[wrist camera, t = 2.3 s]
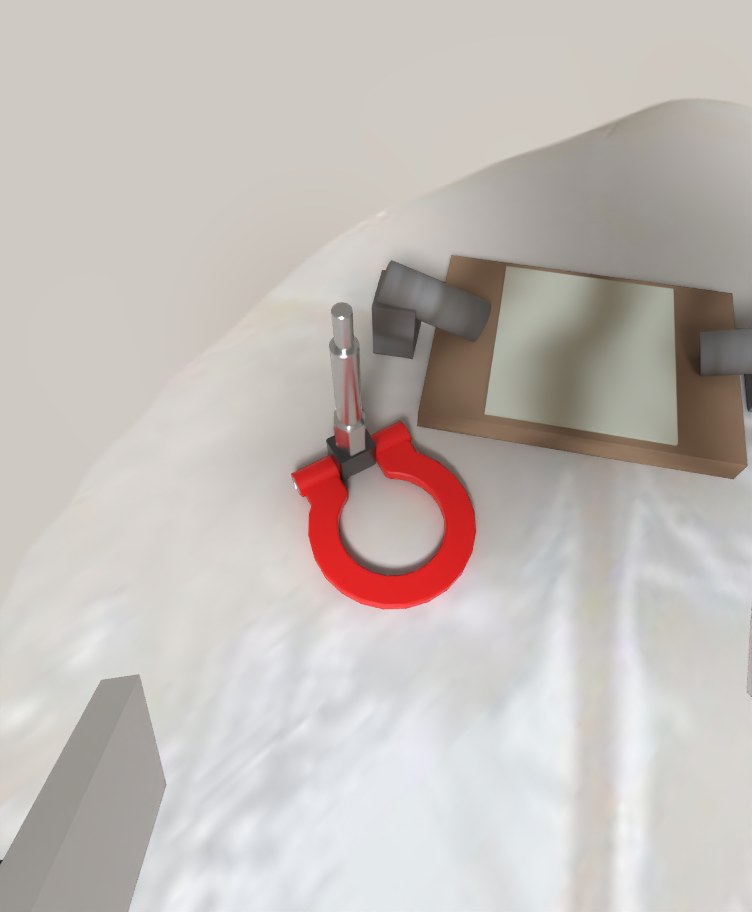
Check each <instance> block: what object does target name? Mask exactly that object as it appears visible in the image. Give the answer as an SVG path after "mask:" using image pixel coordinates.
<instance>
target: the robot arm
mask: <svg viewBox="0 0 752 912" xmlns="http://www.w3.org/2000/svg"><path fill="white" fill-rule="evenodd" d="M747 693H748V694H749V695H750V696H751V697H752V608H751V625H750V642H749V659H748V676H747ZM165 787H166V781H165V777H164V773H163V769H162V765H161V760H160V756H159V752H158V748H157V744H156V740H155V736H154V732H153V728H152V724H151V720H150V716H149V712H148V708H147V703H146V699H145V695H144V691H143V687H142V683H141V679H140V675H132V676H125V677H119V678H112V679H105V680H101V681H100V683H99V685H98V687H97V689H96V691H95V692H94V694H93V696H92V698H91V700H90V702H89V703H88V705H87V707H86V709H85V711H84V713H83V714H82V716H81V718H80V720H79V722H78V724H77V725H76V727H75V729H74V731H73V733H72V735H71V736H70V738H69V740H68V742H67V744H66V746H65V747H64V749H63V751H62V753H61V755H60V757H59V758H58V760H57V762H56V764H55V766H54V767H53V769H52V771H51V773H50V775H49V777H48V778H47V780H46V782H45V784H44V786H43V788H42V789H41V791H40V793H39V795H38V797H37V799H36V800H35V802H34V804H33V806H32V808H31V810H30V811H29V813H28V815H27V817H26V819H25V821H24V822H23V824H22V826H21V828H20V830H19V832H18V833H17V835H16V837H15V839H14V841H13V843H12V844H11V846H10V848H9V850H8V852H7V853H6V855H5V857H4V859H3V860H0V912H128V910H129V907H130V903H131V900H132V897H133V894H134V890H135V887H136V884H137V880H138V877H139V874H140V870H141V867H142V864H143V860H144V857H145V854H146V850H147V847H148V844H149V840H150V837H151V834H152V830H153V827H154V824H155V821H156V817H157V814H158V811H159V807H160V804H161V801H162V797H163V794H164V791H165Z"/></svg>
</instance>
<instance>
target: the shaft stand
mask: <svg viewBox="0 0 752 912" xmlns="http://www.w3.org/2000/svg"><path fill="white" fill-rule="evenodd" d="M421 321H422V322H425V323H427V324H430V325H432V326H435V327H436V330H435V335H434V340H433V345H432V349H431V354H430V359H429V364H428V368H427V373H426V378H425V383H424V387H423V392H422V397H421V402H420V406H419V411H418V424H417V426H421V427H427V428H433V429H438V430H444V431H450V432H456V433H462V434H468V435H474V436H480V437H486V438H492V439H498V440H504V441H510V442H516V443H522V444H528V445H534V446H540V447H546V448H551V449H557V450H563V451H569V452H575V453H581V454H587V455H593V456H599V457H605V458H611V459H617V460H623V461H629V462H635V463H641V464H647V465H653V466H658V467H664V468H670V469H676V470H682V471H688V472H694V473H700V474H706V475H712V476H718V477H724V478H730V479H734V478H735V477H736V476H737V475H738V474H739V473H740V472H741V471H742V470H744V469H745V468H746V467H747V466H748V465H747V453H746V442H745V431H744V420H743V409H742V398H741V387H740V376H739V374H745V382H746V392H747V403H748V411H750V412H752V328H746V329H735V320H734V309H733V298H732V293H725V292H718V291H711V290H703V289H696V288H689V287H681V286H674V285H666V284H659V283H652V282H644V281H637V280H630V279H622V278H615V277H608V276H600V275H593V274H585V273H578V272H571V271H563V270H556V269H549V268H541V267H534V266H527V265H519V264H512V263H504V262H497V261H490V260H482V259H475V258H468V257H460V256H453V255H451V259H450V264H449V269H448V273H447V278H446V283H444V282H442V281H439V280H437V279H435V278H432V277H430V276H428V275H425V274H423V273H420V272H418V271H416V270H413V269H411V268H409V267H406V266H404V265H401V264H399V263H397V262H394V261H392V260H391V261H390V263H389V265H388V267H387V269H386V270H382V272H381V276H380V279H379V283H378V287H377V290H376V294H375V297H374V301H373V304H372V326H373V353H378V354H384V355H391V356H397V357H403V358H410V359H413V355H414V350H415V346H416V342H417V337H418V333H419V328H420V324H421Z"/></svg>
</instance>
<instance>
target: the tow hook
mask: <svg viewBox="0 0 752 912" xmlns="http://www.w3.org/2000/svg"><path fill="white" fill-rule="evenodd" d="M331 314H332V324H333V335H334V337H333V338H332V340H331V341H330V344H329V348H330V357H331V366H332V376H333V385H334V394H335V404H336V410H335V413H334V431H335V435H334V436H332V437H330V438H328V439H327V440H326V442H327V448H328V455H329V456H327V457H325V458H323V459H321V460H319V461H317V462H314V463H312V464H310V465H308V466H306V467H304V468H302V469H300V470H298V471H296V472H294V473H292V474H291V475H292V480H293V483H294V485H295V487H296V489H297V491H298V492H299V493H300V495H301V496H302V497H304V496H306V497H307V499H308V501H309V503H310V505H311V509H310V513H309V532H308V536H309V539H310V543H311V547H312V551H313V555H314V558H315V561H316V562H317V564H318V566H319V567H320V569H321V571H322V572H323V574H324V576H325V578H326V579H327V580H328V581H329V582H330V583H332V584H333V585H334V586H335V587H336V588H337V589H338V590H339V591H340V592H341V593H342V594H344V595H346V596H348V597H350V598H351V599H353V600H355V601H357V602H359V603H360V604H364V605H368V606H372V607H376V608H380V609H407V608H410V607H413V606H417V605H420V604H423V603H427V602H429V601H431V600H432V599H434V598H435V597H437V596H439V595H440V594H442V593H443V592H445V591H447V590H448V589H449V587H450V586H451V585H452V584H453V583H454V582H455V581H456V580H457V579H458V578H459V576H460V575H461V574H462V572H463V570H464V568H465V566H466V564H467V562H468V560H469V558H470V556H471V554H472V551H473V545H474V540H475V534H476V526H475V517H474V510H473V507H472V505H471V502H470V499H469V497H468V494H467V492H466V490H465V489H464V488H463V486H462V485H461V483H460V482H459V481H458V479H457V478H456V477H455V475H454V474H452V473H451V472H450V471H449V470H448V469H446V468H445V467H444V466H443V465H441V464H440V463H439V462H438V461H435V460H433V459H431V458H429V457H427V456H425V455H423V454H421V453H418V452H416V450H415V449H414V447H413V446H412V444H411V437H410V434H409V432H408V430H407V428H406V427H405V425H404V424H403V423H402V422H400V421H399V422H397V423H395V424H393V425H391V426H389V427H387V428H385V429H383V430H381V431H379V432H377V433H375V434H372V435H370V434H369V433H368V431H367V429H366V428H365V411H364V410H363V409H362V404H361V377H360V350H359V342H358V340H357V338H356V337H354V334H353V313H352V307H351V306H350V305H349V304H347V303H343V302H342V303H337V304H335V305H334V306H333V307H332V309H331ZM376 462H377V463H378V465H379V467H380V468H381V470H382V472H383V473H384V475H385V476H386V477H388V478H390V479H400V480H405V481H409V482H412V483H414V484H416V485H418V486H420V487H422V488H423V489H424V490H425V491H426V492H428V493H429V494H430V495H431V496H432V497H433V498H434V500H435V501H436V503H437V504H438V506H439V507H440V510H441V513H442V515H443V518H444V526H445V535H444V540H443V543H442V545H441V547H440V549H439V551H438V553H437V554H436V555H435V556H434V558H433V559H432V560H431V561H430V562H429V563H428V564H426V565H425V566H423V567H421V568H420V569H418V570H417V571H414V572H411V573H407V574H404V575H392V576H386V575H382V574H378V573H373V572H371V571H369V570H367V569H365V568H363V567H362V566H360V565H359V564H357V563H356V562H355V561H354V560H353V559H352V558H351V557H350V556H349V555H348V553H347V551H346V550H345V548H344V547H343V545H342V543H341V539H340V536H339V519H340V515H341V512H342V509H343V507H344V505H345V504H346V502H347V501H348V494H347V490H346V488H345V486H344V484H343V483H342V481H341V480H344V479H346V478H348V477H350V476H352V475H354V474H356V473H358V472H360V471H362V470H364V469H366V468H368V467H370V466H372V465H374V464H375V463H376Z"/></svg>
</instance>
